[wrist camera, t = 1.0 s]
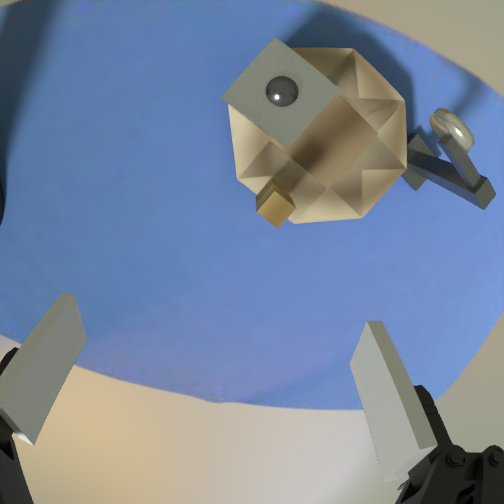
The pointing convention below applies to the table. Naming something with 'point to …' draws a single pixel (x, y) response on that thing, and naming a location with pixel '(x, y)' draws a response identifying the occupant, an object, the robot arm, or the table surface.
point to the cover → (280, 92)
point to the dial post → (445, 173)
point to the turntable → (328, 147)
